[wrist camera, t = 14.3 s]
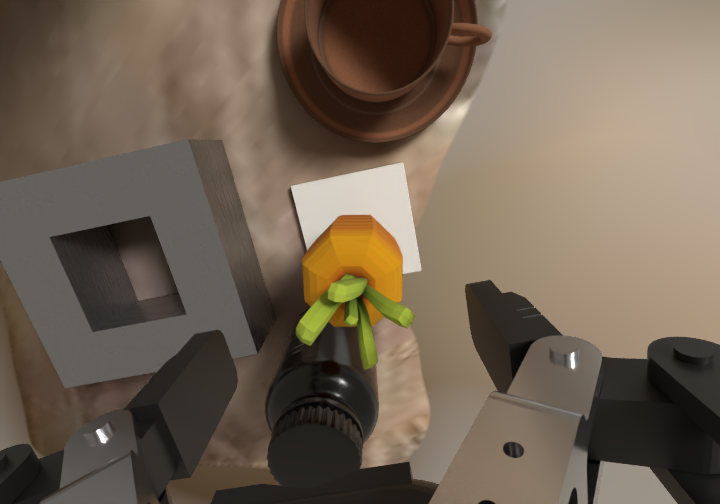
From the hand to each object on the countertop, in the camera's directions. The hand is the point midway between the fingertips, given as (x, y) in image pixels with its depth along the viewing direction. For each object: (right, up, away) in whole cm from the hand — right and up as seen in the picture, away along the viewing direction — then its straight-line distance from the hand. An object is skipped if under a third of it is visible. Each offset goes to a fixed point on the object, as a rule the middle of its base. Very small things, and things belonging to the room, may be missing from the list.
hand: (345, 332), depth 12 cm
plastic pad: (0, +4, +15) cm, 16 cm away
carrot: (0, +4, +15) cm, 16 cm away
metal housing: (-15, +2, +16) cm, 22 cm away
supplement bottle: (-2, -4, +18) cm, 19 cm away
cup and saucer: (+1, +16, +12) cm, 20 cm away
